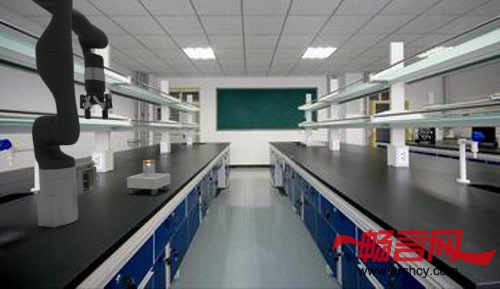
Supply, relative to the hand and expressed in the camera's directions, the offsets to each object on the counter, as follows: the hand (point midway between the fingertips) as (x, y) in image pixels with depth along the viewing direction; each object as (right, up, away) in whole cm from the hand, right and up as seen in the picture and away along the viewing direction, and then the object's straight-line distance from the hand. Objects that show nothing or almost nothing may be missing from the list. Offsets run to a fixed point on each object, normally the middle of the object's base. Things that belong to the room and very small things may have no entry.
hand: (96, 119), depth 110 cm
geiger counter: (-12, -33, +11) cm, 36 cm away
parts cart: (+19, -32, +10) cm, 39 cm away
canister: (+18, -28, +10) cm, 35 cm away
